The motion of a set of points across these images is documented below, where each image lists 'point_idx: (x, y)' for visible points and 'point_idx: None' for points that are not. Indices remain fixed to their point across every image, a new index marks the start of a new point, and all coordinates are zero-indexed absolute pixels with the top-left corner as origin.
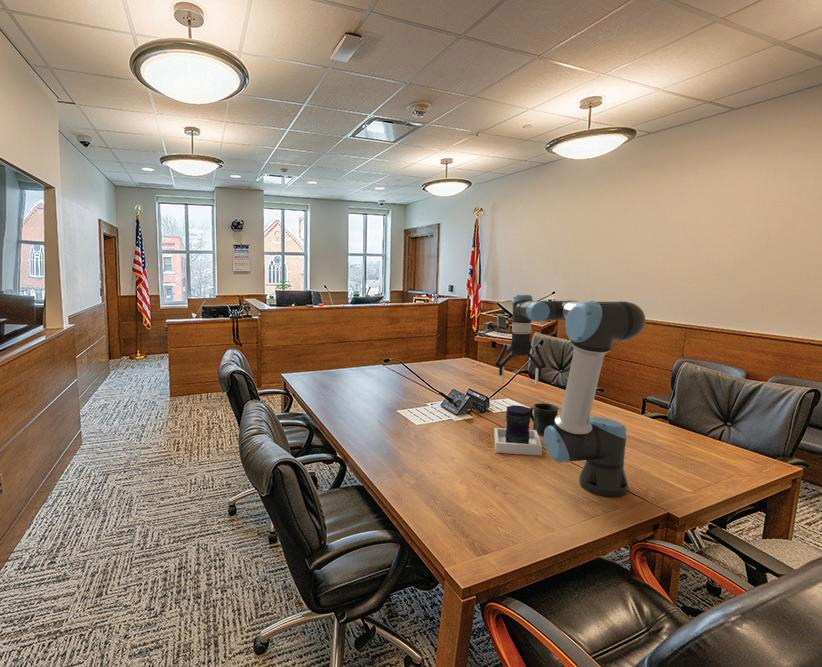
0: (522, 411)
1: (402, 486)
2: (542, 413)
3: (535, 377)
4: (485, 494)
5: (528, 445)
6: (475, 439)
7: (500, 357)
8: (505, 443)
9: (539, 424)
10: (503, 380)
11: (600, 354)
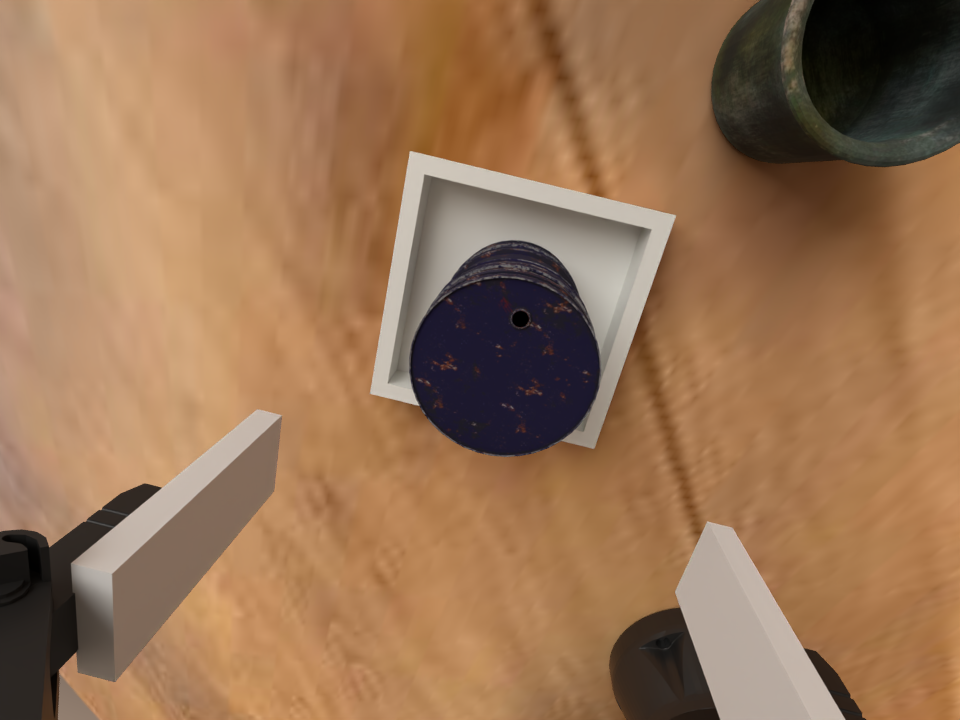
0: (516, 425)
1: None
2: (803, 135)
3: (737, 600)
4: (292, 654)
5: None
6: (307, 196)
7: None
8: (416, 402)
9: (747, 127)
10: (245, 517)
11: None
